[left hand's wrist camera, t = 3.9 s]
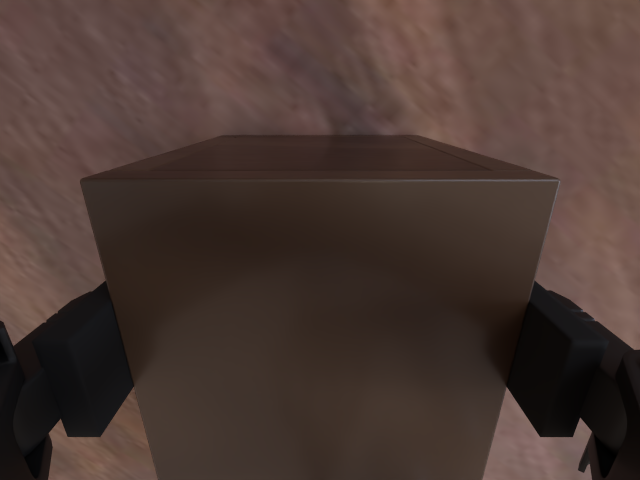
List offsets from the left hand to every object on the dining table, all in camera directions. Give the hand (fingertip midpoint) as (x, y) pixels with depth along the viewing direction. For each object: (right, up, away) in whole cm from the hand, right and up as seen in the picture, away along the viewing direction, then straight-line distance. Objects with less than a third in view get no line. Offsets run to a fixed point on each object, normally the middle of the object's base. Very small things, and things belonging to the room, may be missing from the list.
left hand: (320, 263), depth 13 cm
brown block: (0, -3, +8) cm, 9 cm away
